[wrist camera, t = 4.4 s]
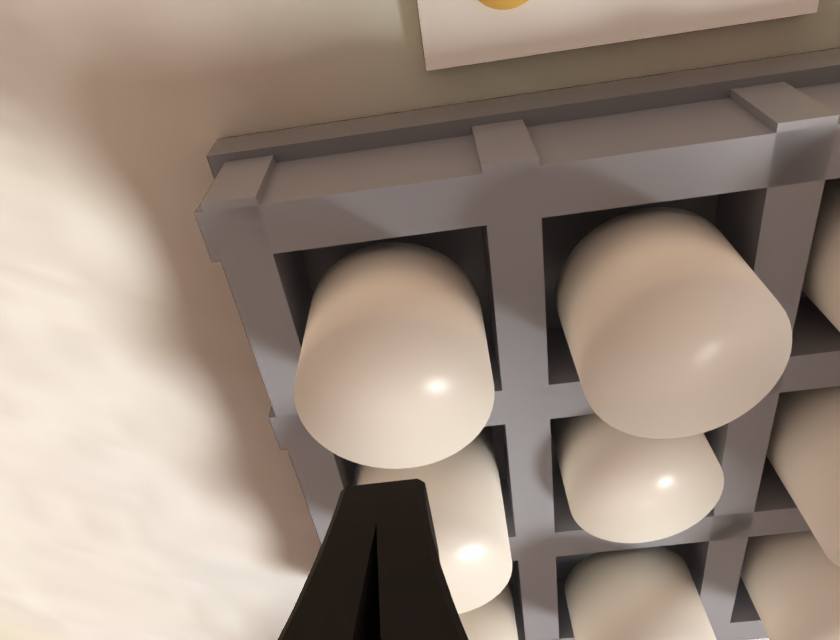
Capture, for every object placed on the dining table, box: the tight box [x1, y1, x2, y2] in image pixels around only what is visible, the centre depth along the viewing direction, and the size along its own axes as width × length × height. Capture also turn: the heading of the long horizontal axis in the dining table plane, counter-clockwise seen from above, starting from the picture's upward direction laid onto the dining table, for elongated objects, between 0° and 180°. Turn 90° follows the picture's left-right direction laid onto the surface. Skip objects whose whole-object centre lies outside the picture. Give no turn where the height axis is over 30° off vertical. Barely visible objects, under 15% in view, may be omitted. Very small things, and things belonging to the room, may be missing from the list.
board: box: [195, 0, 840, 640], centre depth 17 cm, size 20×30×6 cm, turn 8°
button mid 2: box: [564, 546, 717, 640], centre depth 22 cm, size 4×4×3 cm
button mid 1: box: [555, 207, 792, 439], centre depth 15 cm, size 4×4×3 cm
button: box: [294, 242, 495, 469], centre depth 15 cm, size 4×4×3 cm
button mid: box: [550, 414, 724, 543], centre depth 20 cm, size 4×4×3 cm
